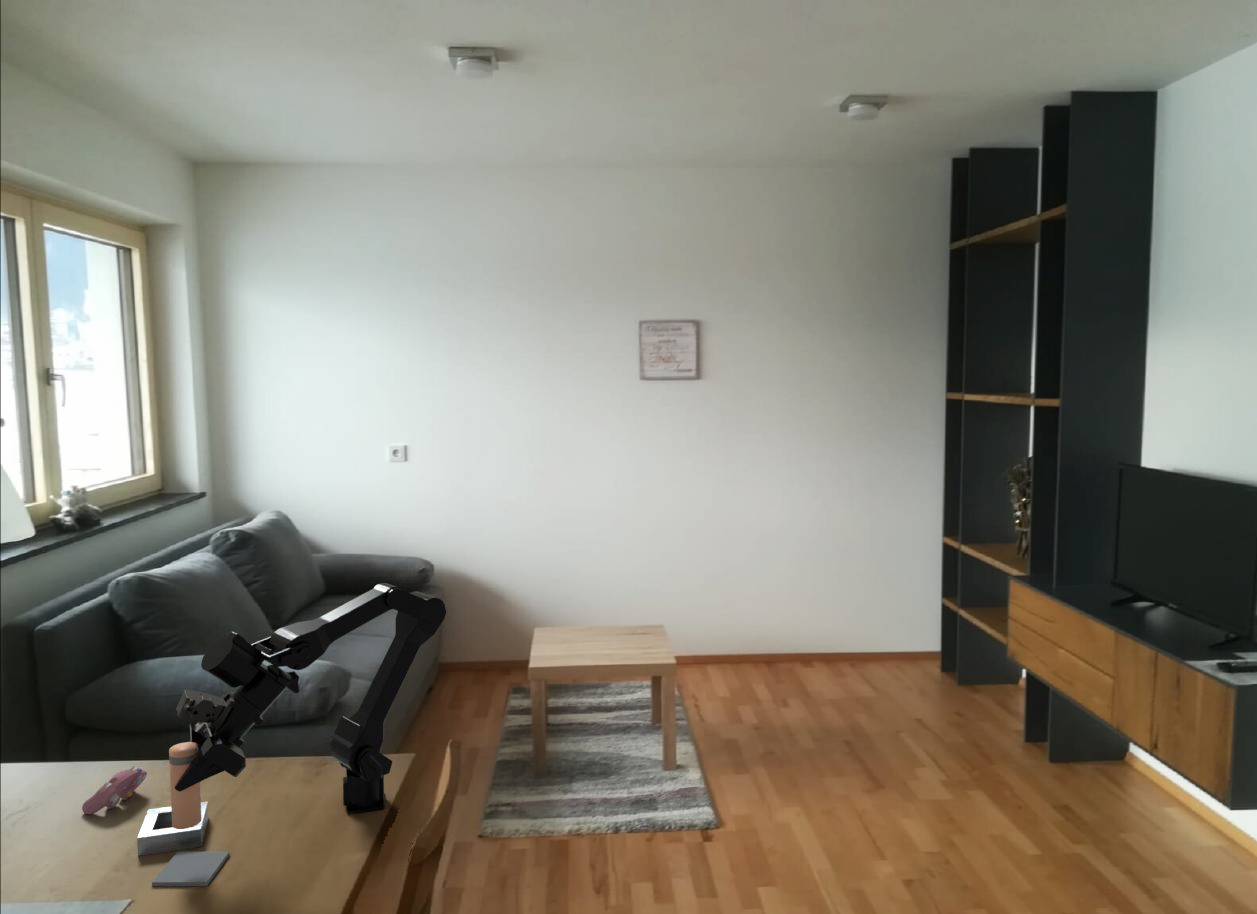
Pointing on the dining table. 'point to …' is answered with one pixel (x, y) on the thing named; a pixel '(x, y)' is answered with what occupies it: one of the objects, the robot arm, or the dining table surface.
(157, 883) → the mat
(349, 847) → the dining table surface
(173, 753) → the pin
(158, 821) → the eye block
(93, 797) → the video game controller
